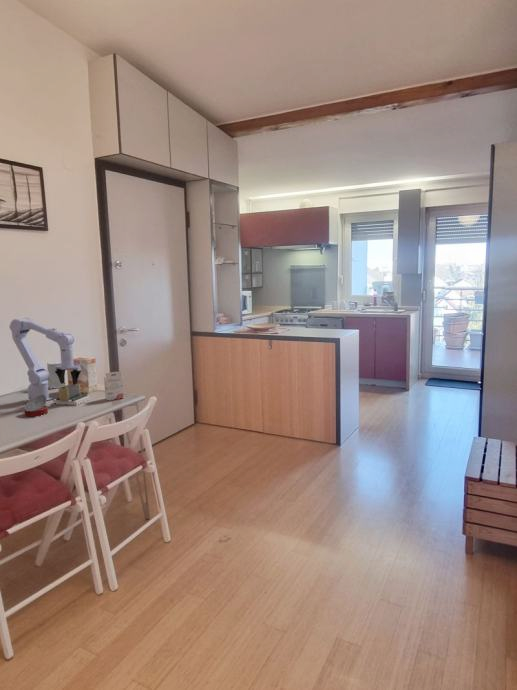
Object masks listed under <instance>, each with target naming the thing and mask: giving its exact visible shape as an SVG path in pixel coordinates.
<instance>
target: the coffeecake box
mask: <svg viewBox="0 0 517 690" xmlns="http://www.w3.org/2000/svg"><path fill="white" fill-rule="evenodd" d="M73 365H74V366H79V367H81V372H80V374H79V376H78V380H77V384H80V390H81V392H84V393H83V394H88V393H90V394H92V393H91V392H93V393H95V392H97V391H98V381H97V380H98V379H97V366H96V357H92V356H82V355H81V356H80V355H79V356H78V355H73ZM66 371H67V372H66V374H67V385H70V384H73V381H72V375H71V373H70V372H71V371H73V370H66ZM94 391H95V392H94Z"/></svg>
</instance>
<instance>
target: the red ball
mask: <svg viewBox="0 0 517 690" xmlns="http://www.w3.org/2000/svg"><path fill="white" fill-rule="evenodd" d="M46 403H47V401H46V397H45V396H44V395H40V396H37V397H35V398H33V399H32V400H30V401H27V403H26V404H25V406H24V416H25V417H26V418H37V417H36V416H38V417H42V416H41V415H43V416H45V415H47V414H48V412H49V411H48V406H47V405H46ZM44 414H45V415H44Z"/></svg>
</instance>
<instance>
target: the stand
mask: <svg viewBox="0 0 517 690" xmlns="http://www.w3.org/2000/svg"><path fill="white" fill-rule="evenodd" d="M90 399H91V395H88V393H83V394H81V396H79V397H76V398H74V399H71V400H70V401H60V399H59V396H58V397H56V398H55V399H52V400H53V404H54V403H56V404H55V405H64V404H68V405H67V406H79V405H81V404H80V403H82V404H84V403H86V402H85V401H87V400H89V401H90ZM91 400H92V399H91ZM83 402H84V403H83ZM87 402H88V401H87ZM78 404H79V405H78Z"/></svg>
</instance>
